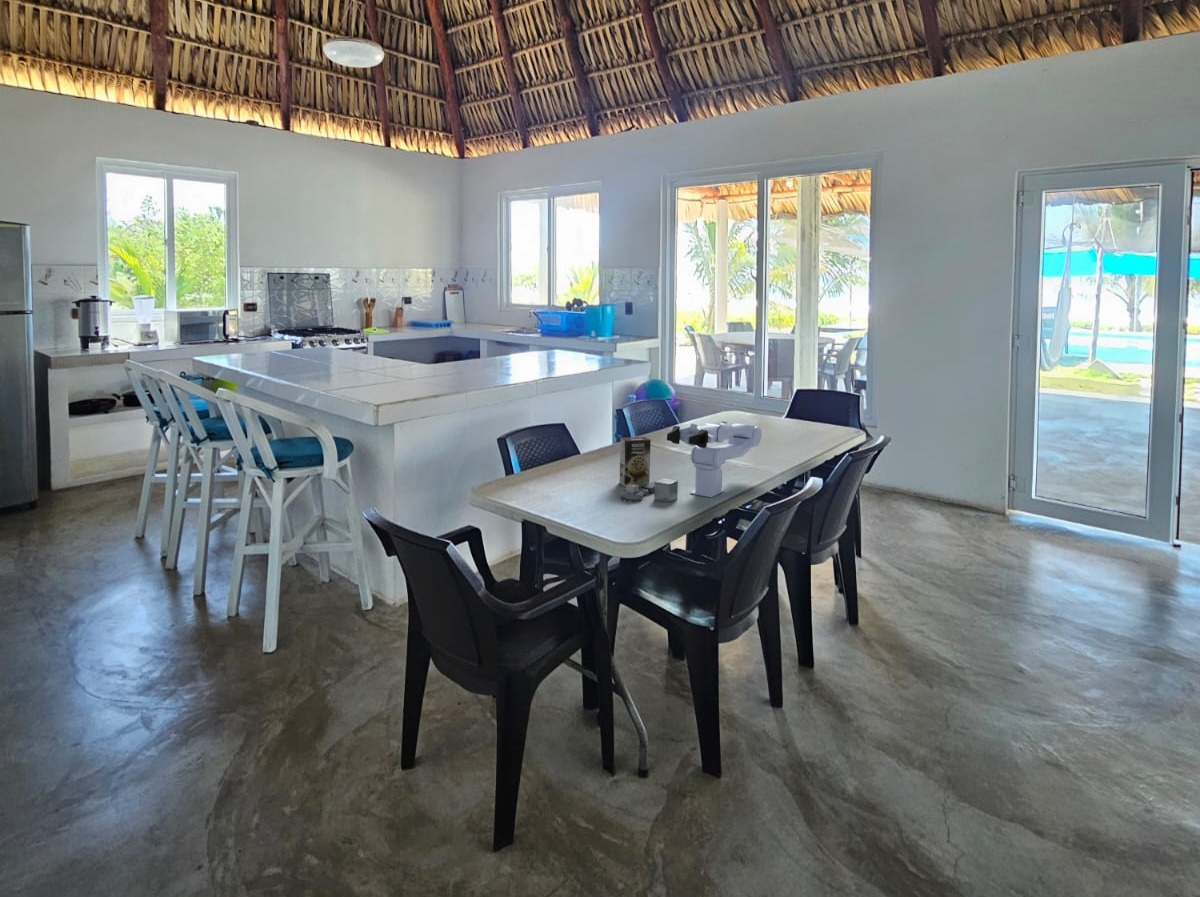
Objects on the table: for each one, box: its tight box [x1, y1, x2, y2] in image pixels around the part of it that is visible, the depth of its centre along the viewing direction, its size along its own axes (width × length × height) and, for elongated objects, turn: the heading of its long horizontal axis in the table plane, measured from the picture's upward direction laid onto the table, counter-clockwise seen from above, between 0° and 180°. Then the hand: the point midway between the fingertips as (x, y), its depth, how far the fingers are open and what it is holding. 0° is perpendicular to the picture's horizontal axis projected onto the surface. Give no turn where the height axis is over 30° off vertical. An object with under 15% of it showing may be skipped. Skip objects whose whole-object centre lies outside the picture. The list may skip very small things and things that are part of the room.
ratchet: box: [620, 481, 655, 503], centre depth 256 cm, size 20×7×4 cm, turn 144°
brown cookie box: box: [619, 436, 652, 488], centre depth 266 cm, size 9×6×16 cm
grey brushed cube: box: [653, 477, 679, 503], centre depth 250 cm, size 5×5×6 cm
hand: (678, 438), depth 238 cm, fingers open, 7 cm apart
